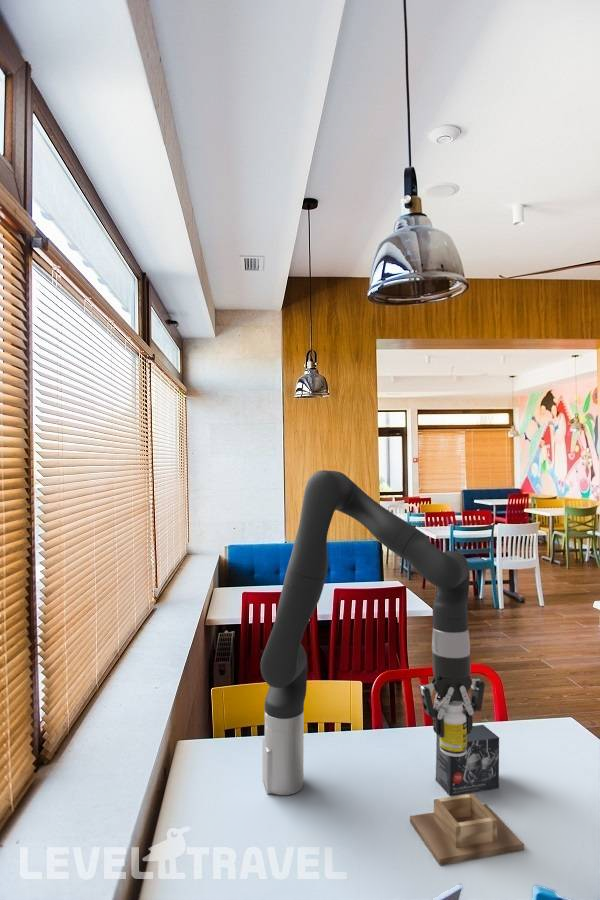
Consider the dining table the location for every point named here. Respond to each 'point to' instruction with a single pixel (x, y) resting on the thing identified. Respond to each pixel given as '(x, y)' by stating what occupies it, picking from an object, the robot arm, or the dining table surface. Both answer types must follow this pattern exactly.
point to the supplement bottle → (454, 730)
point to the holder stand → (464, 830)
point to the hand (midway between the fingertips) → (453, 733)
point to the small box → (470, 764)
